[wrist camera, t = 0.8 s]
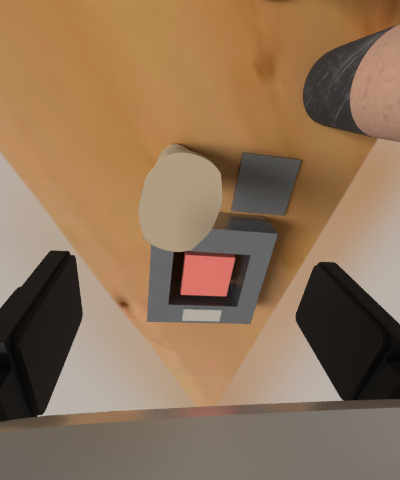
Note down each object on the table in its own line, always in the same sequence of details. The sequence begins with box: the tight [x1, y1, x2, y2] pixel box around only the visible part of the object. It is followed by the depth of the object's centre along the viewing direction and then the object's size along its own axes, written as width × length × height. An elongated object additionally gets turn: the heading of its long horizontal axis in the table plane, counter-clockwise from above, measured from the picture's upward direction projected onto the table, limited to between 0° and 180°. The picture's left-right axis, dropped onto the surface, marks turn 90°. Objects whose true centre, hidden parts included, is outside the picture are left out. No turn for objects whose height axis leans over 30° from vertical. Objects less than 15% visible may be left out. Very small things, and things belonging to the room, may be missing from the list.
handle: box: [138, 143, 222, 252], centre depth 22 cm, size 5×6×15 cm
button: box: [180, 251, 235, 296], centre depth 32 cm, size 6×6×1 cm
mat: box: [231, 153, 301, 216], centre depth 31 cm, size 7×7×1 cm
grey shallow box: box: [147, 212, 278, 324], centre depth 33 cm, size 14×14×5 cm
